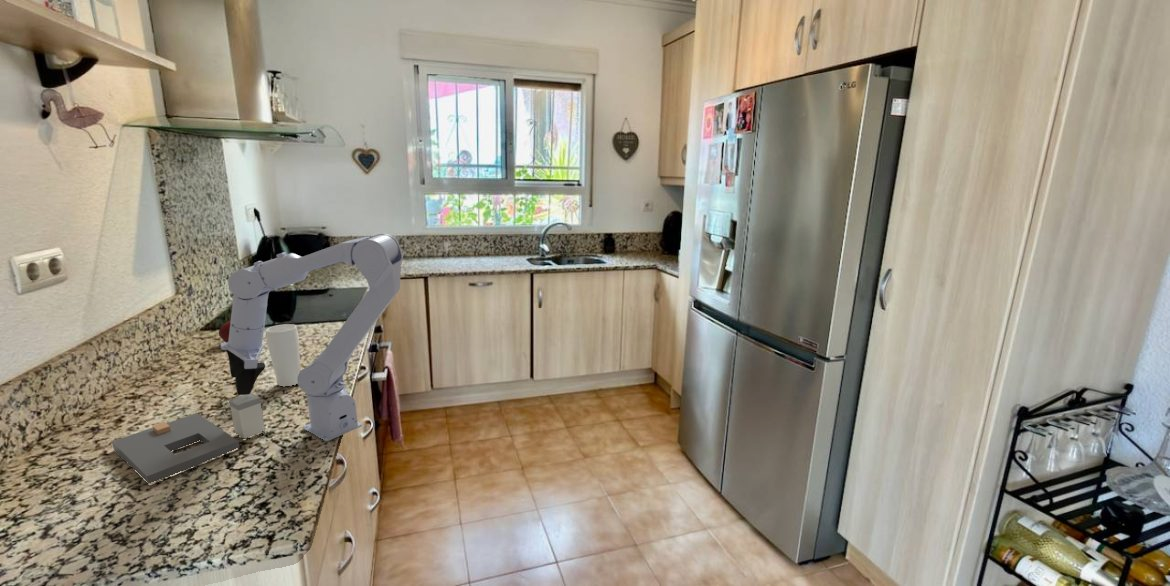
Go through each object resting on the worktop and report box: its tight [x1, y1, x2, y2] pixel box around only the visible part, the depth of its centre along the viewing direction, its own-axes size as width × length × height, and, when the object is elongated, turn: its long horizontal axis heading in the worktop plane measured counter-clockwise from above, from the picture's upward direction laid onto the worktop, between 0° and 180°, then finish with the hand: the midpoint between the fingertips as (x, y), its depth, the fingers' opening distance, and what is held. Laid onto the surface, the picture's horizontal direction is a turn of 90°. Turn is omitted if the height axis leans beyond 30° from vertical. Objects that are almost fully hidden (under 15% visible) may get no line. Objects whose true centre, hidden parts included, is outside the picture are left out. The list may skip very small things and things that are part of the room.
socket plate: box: [111, 412, 240, 483], centre depth 97 cm, size 20×14×3 cm
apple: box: [218, 319, 231, 343], centre depth 154 cm, size 7×8×8 cm
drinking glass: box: [265, 323, 301, 388], centre depth 125 cm, size 7×7×15 cm
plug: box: [228, 392, 266, 438], centre depth 102 cm, size 4×4×8 cm
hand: (240, 385), depth 103 cm, fingers open, 7 cm apart
